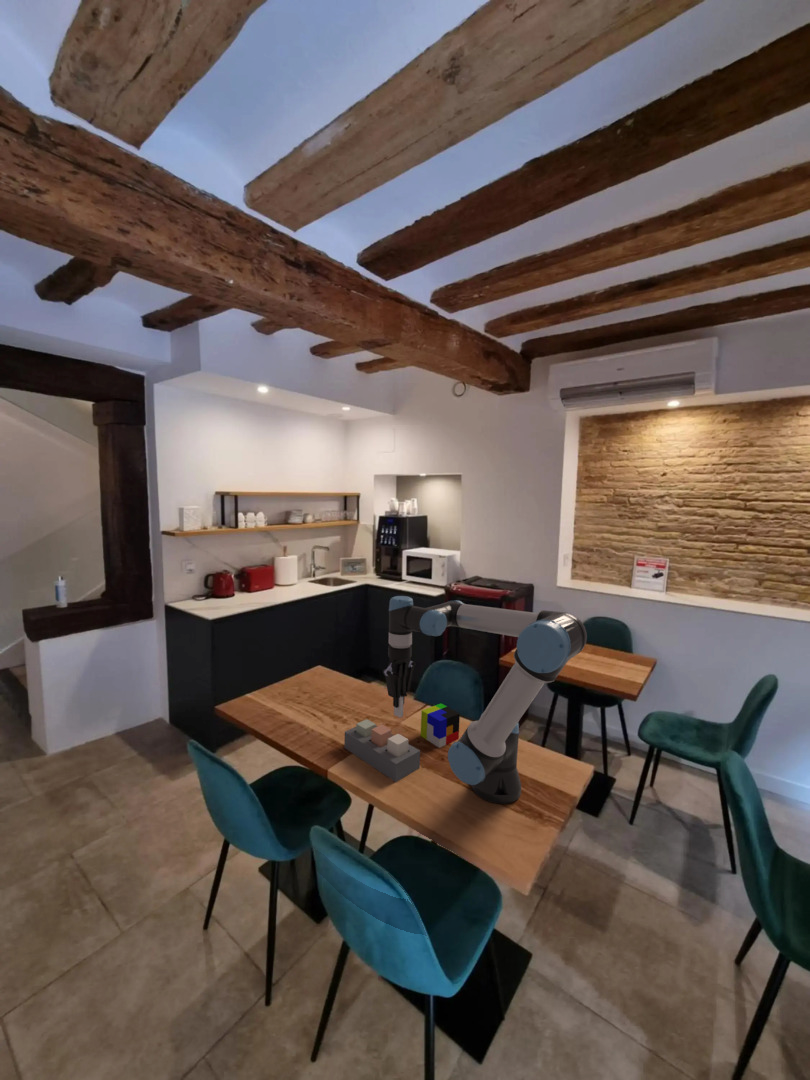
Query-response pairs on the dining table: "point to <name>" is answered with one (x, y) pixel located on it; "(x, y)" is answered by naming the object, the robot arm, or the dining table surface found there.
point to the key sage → (365, 728)
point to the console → (382, 756)
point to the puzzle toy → (440, 725)
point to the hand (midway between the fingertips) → (398, 715)
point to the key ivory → (397, 745)
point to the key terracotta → (380, 735)
